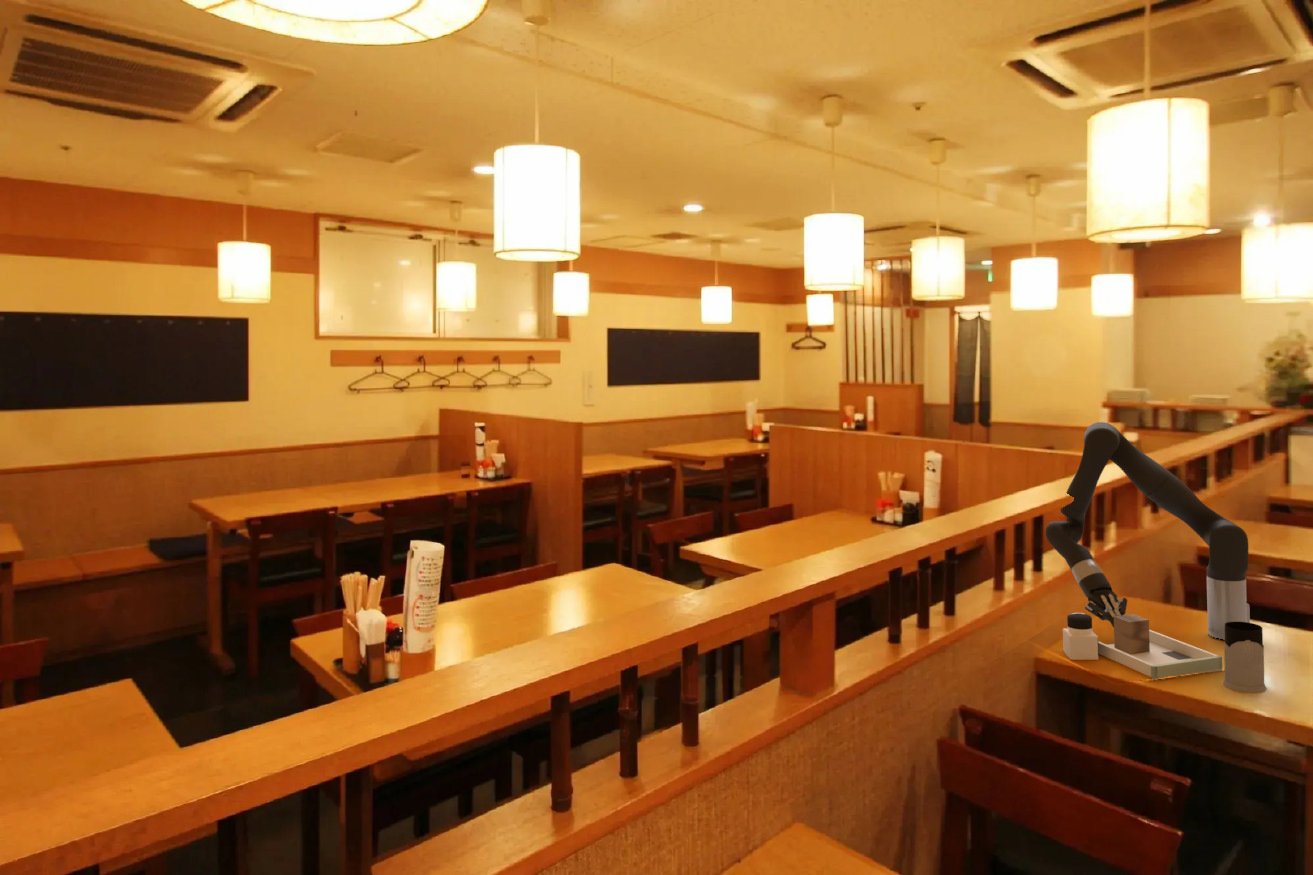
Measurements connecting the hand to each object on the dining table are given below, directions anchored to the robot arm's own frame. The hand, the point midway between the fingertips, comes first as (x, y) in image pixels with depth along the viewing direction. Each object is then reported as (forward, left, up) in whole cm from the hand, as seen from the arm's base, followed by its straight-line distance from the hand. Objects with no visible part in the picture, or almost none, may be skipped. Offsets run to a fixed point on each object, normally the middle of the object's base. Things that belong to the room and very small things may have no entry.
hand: (1122, 631), depth 230 cm
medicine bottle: (+15, +2, -5) cm, 16 cm away
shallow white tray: (0, +10, -5) cm, 11 cm away
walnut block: (0, +4, -4) cm, 6 cm away
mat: (-7, +11, -5) cm, 14 cm away
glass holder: (-8, +30, -5) cm, 32 cm away
